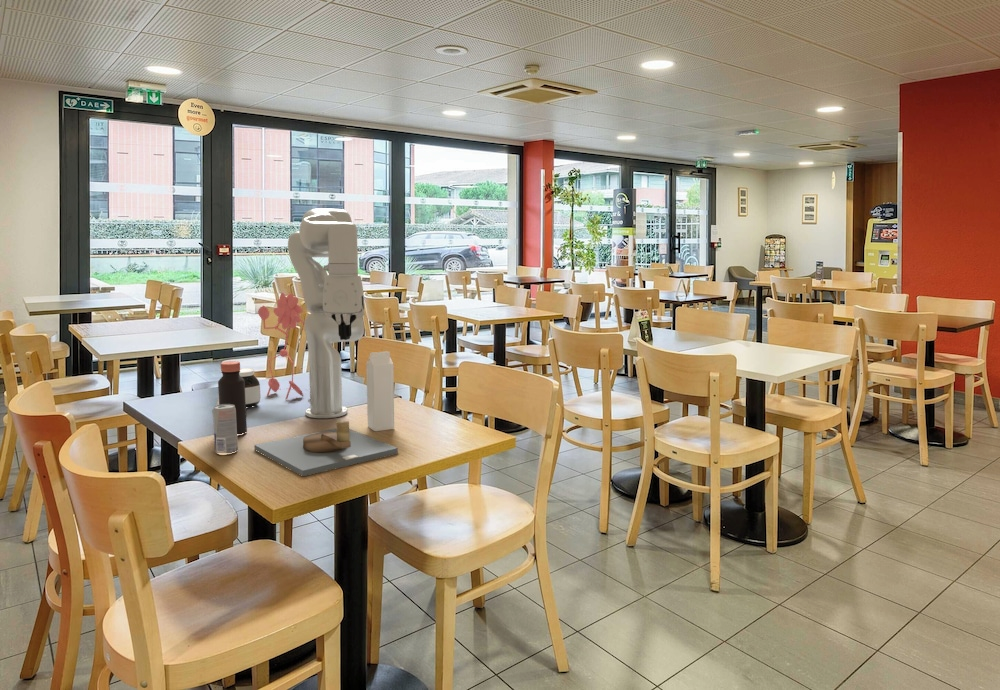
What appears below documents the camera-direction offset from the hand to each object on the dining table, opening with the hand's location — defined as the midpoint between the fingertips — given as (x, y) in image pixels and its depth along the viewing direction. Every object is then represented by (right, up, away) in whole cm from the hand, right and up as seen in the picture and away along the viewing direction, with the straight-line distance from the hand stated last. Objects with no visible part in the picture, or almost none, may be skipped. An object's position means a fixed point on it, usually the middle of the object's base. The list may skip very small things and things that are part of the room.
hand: (345, 339), depth 187 cm
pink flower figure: (-30, -19, +54) cm, 64 cm away
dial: (-1, -27, -11) cm, 30 cm away
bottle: (-32, -26, +6) cm, 42 cm away
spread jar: (-42, -22, +36) cm, 59 cm away
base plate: (-3, -29, -9) cm, 30 cm away
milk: (+7, -26, +14) cm, 30 cm away
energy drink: (-28, -29, -10) cm, 41 cm away
